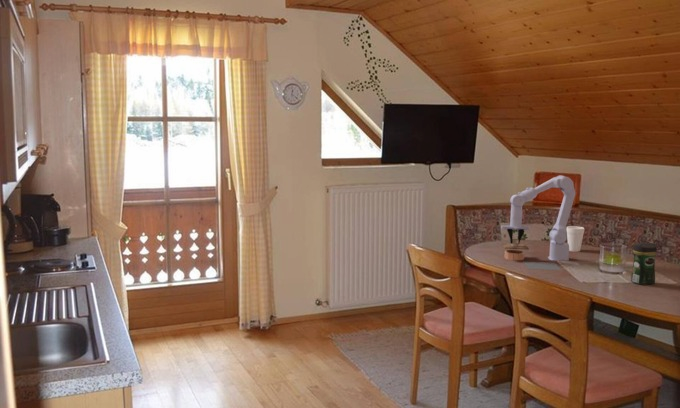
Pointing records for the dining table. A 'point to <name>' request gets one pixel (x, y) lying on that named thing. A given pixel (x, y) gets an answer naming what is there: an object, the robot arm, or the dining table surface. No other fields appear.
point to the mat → (541, 265)
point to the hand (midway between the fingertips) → (514, 243)
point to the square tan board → (515, 245)
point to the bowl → (514, 255)
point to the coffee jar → (644, 263)
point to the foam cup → (575, 237)
